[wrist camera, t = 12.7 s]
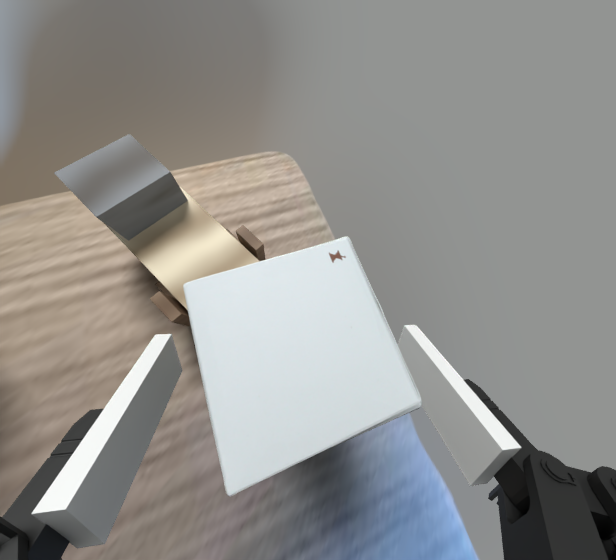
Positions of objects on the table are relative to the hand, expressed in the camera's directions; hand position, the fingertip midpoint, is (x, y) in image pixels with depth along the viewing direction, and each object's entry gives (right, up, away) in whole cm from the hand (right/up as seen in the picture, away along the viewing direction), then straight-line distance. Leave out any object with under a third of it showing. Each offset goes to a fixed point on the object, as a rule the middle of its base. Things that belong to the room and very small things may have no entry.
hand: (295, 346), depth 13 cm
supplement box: (-1, -2, +7) cm, 8 cm away
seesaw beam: (-9, +4, +10) cm, 14 cm away
